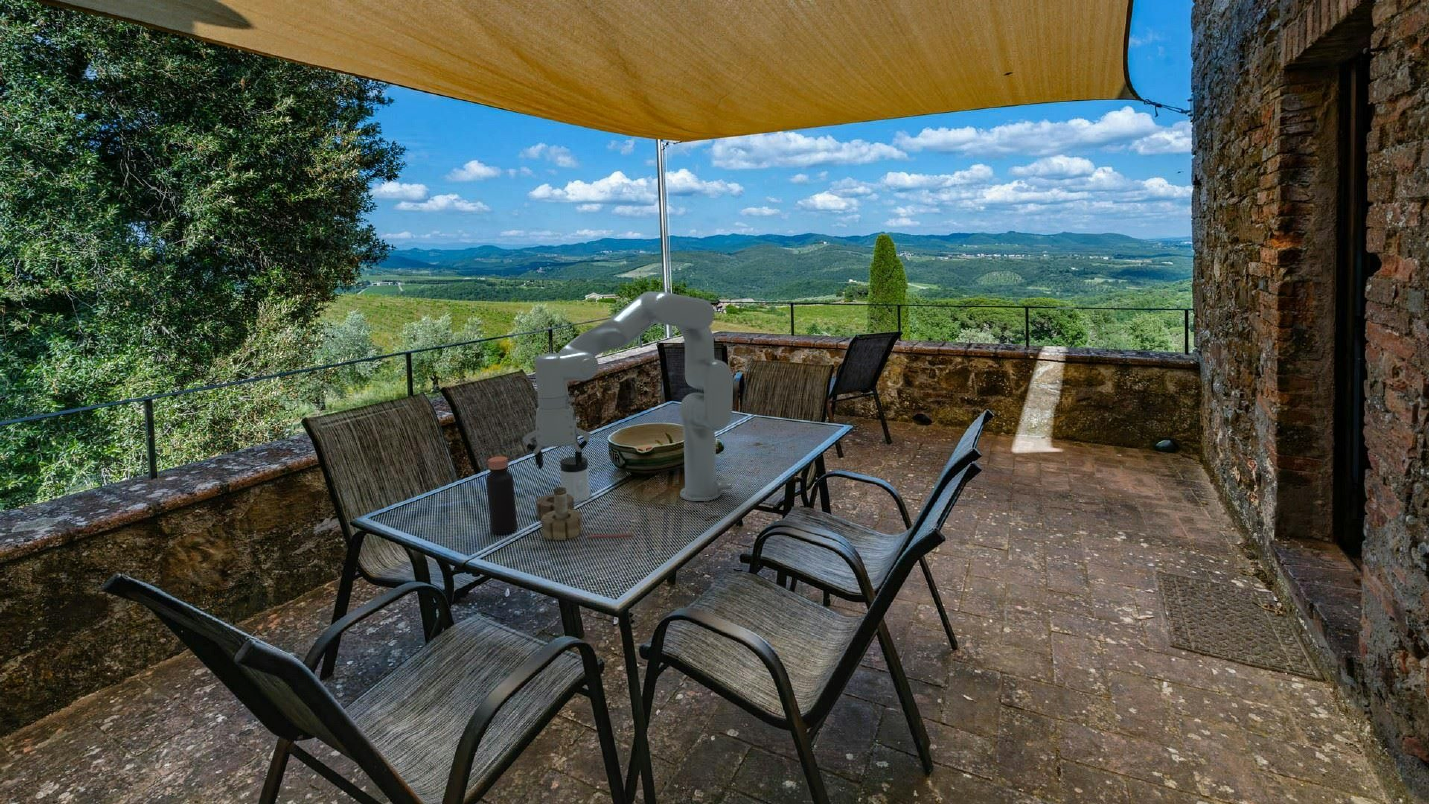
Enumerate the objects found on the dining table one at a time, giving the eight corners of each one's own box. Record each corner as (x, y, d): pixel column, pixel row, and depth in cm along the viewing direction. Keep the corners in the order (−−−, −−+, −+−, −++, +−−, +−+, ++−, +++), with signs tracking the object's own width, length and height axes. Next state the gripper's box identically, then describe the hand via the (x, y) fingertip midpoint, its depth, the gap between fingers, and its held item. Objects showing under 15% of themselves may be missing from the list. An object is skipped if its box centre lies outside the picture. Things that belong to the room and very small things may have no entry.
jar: (567, 505, 193) (564, 466, 191) (557, 497, 200) (554, 459, 197) (595, 498, 198) (593, 460, 195) (584, 491, 205) (582, 454, 202)
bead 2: (584, 523, 179) (583, 508, 178) (579, 539, 169) (578, 522, 168) (547, 525, 178) (545, 510, 177) (540, 540, 168) (538, 524, 167)
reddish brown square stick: (633, 535, 171) (633, 533, 171) (633, 536, 170) (633, 534, 170) (587, 537, 170) (587, 535, 170) (587, 538, 169) (586, 536, 169)
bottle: (492, 537, 171) (485, 464, 167) (489, 528, 177) (483, 457, 173) (519, 532, 174) (512, 460, 170) (515, 523, 180) (509, 454, 176)
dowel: (569, 529, 175) (567, 487, 173) (568, 534, 172) (565, 491, 170) (557, 529, 175) (554, 487, 173) (555, 534, 172) (552, 491, 169)
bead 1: (568, 505, 193) (567, 491, 192) (577, 517, 184) (576, 501, 183) (534, 511, 188) (533, 497, 187) (541, 523, 179) (540, 508, 178)
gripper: (589, 397, 170) (594, 460, 174) (522, 401, 169) (529, 463, 173) (586, 404, 163) (591, 469, 167) (515, 407, 162) (522, 473, 166)
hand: (559, 466), depth 170 cm, fingers open, 9 cm apart
